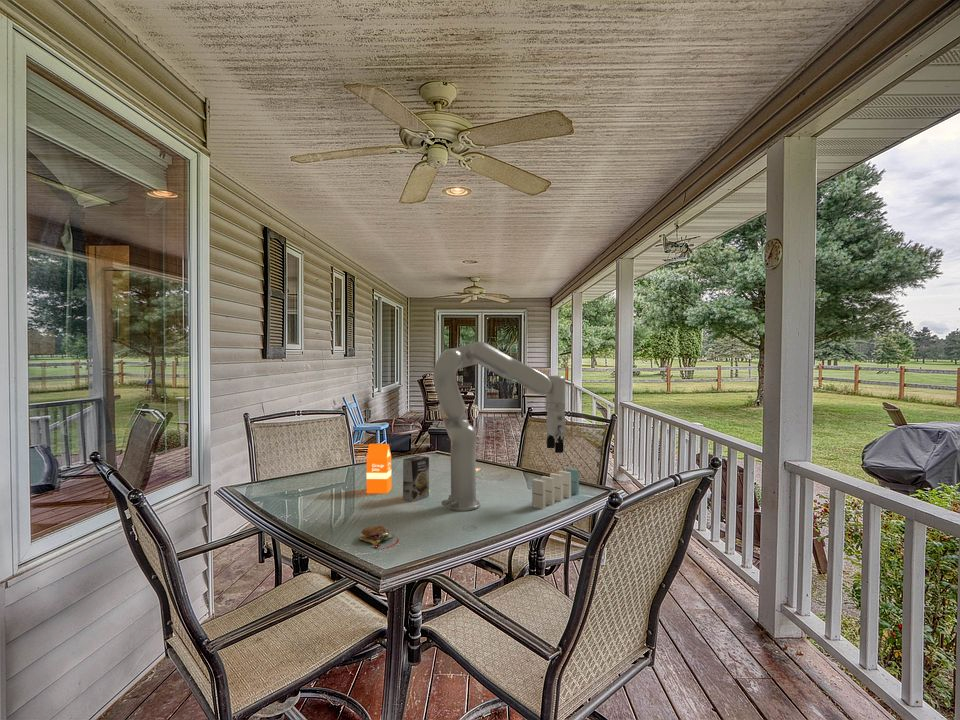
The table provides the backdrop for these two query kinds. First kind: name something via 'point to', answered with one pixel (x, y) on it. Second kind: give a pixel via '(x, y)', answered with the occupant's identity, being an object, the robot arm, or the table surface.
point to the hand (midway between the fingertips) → (554, 450)
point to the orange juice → (378, 468)
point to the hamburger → (376, 535)
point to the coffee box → (415, 478)
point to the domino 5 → (574, 480)
